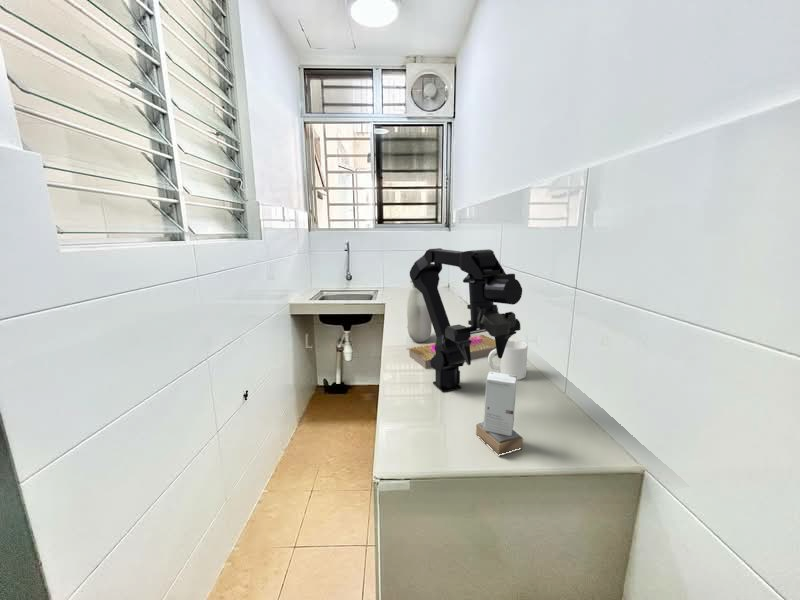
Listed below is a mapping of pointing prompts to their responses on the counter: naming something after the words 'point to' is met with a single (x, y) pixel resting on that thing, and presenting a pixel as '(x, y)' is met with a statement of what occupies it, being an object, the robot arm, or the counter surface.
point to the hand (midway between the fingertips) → (484, 361)
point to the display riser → (499, 440)
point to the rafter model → (474, 350)
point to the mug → (511, 359)
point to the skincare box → (500, 403)
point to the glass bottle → (417, 316)
